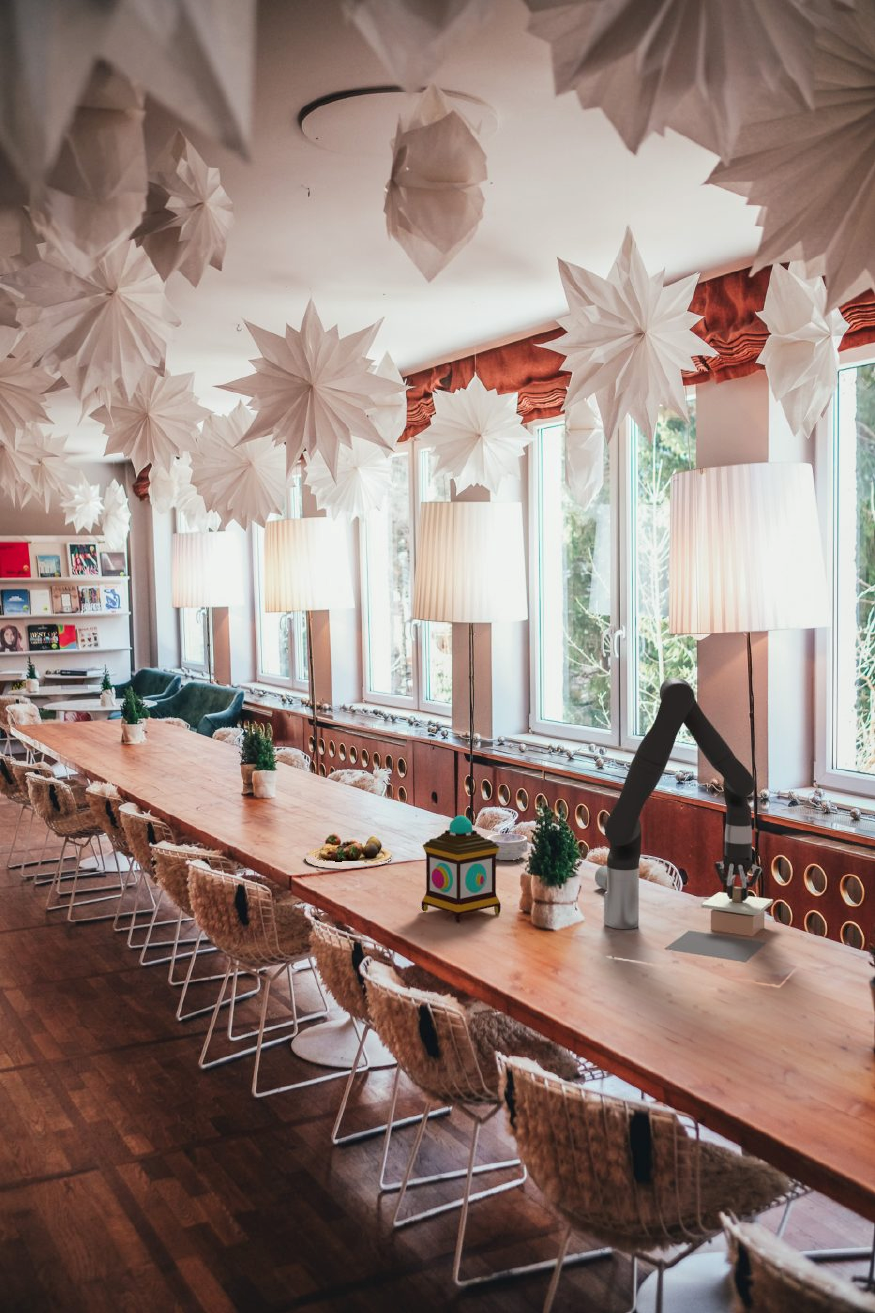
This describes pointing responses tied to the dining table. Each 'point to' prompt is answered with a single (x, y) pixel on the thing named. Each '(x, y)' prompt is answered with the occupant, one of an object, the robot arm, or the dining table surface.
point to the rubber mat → (716, 946)
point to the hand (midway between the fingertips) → (737, 899)
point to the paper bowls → (509, 845)
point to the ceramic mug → (601, 877)
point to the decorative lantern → (461, 870)
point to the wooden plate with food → (352, 851)
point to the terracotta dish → (736, 922)
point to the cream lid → (737, 903)
